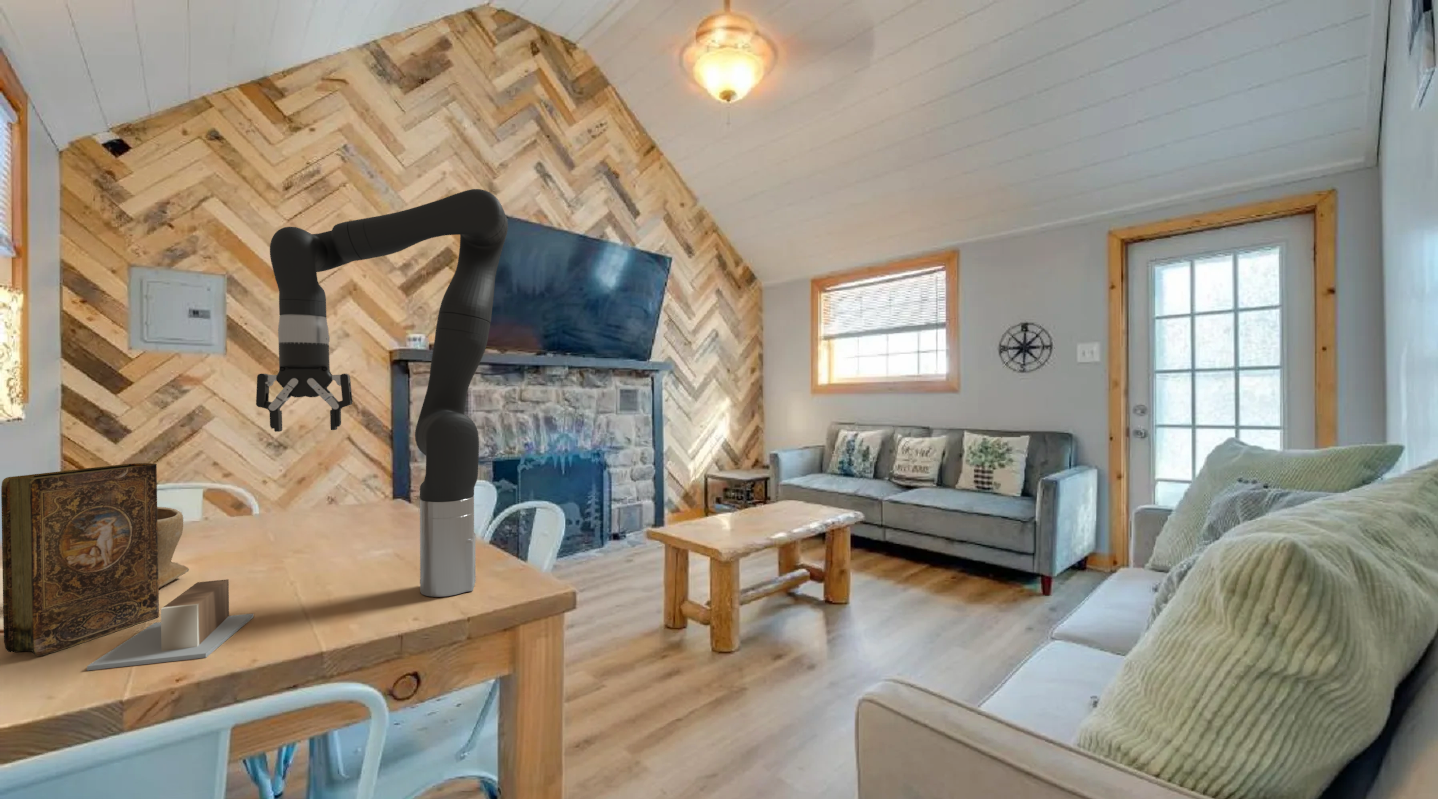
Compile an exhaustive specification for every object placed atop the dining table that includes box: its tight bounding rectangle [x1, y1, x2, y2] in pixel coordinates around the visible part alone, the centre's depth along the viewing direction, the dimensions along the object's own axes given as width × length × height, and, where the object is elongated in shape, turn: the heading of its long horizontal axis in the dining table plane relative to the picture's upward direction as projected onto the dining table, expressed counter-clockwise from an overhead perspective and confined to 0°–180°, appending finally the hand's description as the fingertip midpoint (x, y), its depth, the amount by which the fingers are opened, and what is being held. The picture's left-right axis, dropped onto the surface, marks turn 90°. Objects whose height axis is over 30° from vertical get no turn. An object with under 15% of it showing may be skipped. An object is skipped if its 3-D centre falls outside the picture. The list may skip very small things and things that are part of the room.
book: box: [0, 462, 160, 657], centre depth 90 cm, size 16×6×25 cm, turn 168°
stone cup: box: [157, 506, 190, 589], centre depth 110 cm, size 15×12×15 cm
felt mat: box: [86, 613, 254, 671], centre depth 88 cm, size 13×15×1 cm
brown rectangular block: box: [160, 578, 230, 651], centre depth 89 cm, size 4×6×12 cm
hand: (306, 430), depth 108 cm, fingers open, 8 cm apart
